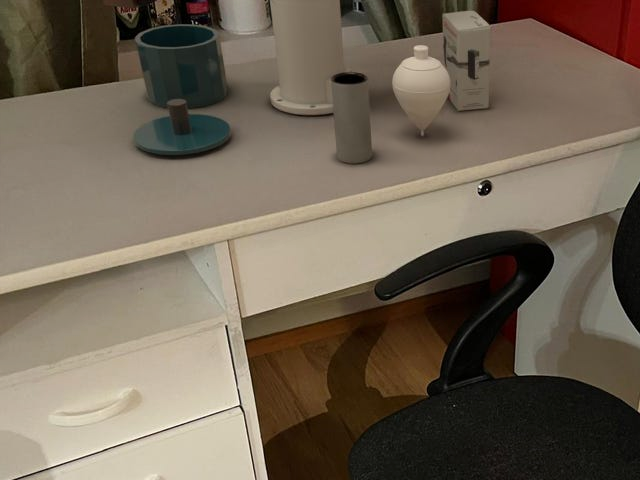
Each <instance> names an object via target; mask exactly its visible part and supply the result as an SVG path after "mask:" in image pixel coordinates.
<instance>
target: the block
mask: <svg viewBox="0 0 640 480" xmlns="http://www.w3.org/2000/svg"><path fill="white" fill-rule="evenodd" d="M102 1H103V6H109V7H116V8H123V9H124V8H125V9H132V10H135V9H138V8H140V7H141V6H140V5H139V4H138V3H137V0H102Z"/></svg>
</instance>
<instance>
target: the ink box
mask: <svg viewBox="0 0 640 480" xmlns="http://www.w3.org/2000/svg"><path fill="white" fill-rule="evenodd" d="M442 58H443V59H442V61H443V63H442V65H443V66H444V67H445V69H446V70H447V72H448V74H449V77H450V82H451V85H450V92H449V94H448V97H447V99H449V101H450V102H451V104H453V106H454V108H455V109H456V111H458V112H462V111H471V110H472V111H473V110H482V109H489V107H490V106H489V105H490V64H491V63H490V61H491V60H490V58H491V27H490V24H489V23H488V22H487V21H486V20H485V19H484V18H483V17H481V15H479V13H477V12H476V11H475V10H463V11H455V12H454V11H453V12H446V13H442Z"/></svg>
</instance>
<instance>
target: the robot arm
mask: <svg viewBox="0 0 640 480" xmlns="http://www.w3.org/2000/svg"><path fill="white" fill-rule="evenodd" d="M157 1H158V0H137V3H138V4H139V5H140V7H145V6H147V5H150V4H153V3H155V2H157ZM269 5H270V14H271V23H272V31H273V39H274V49H275V57H276V65H277V72H278V83H279V84H278V85H277V86H275V87H274V88H273V89H272V90H271V92H270V94H269V98H270V104H271V105H272V106H273V107H274V108H275V109H276V110H279V111H281V112H284V113H288V114H292V115H297V116H299V115H300V116H320V115H331V114H334V113H333V101H332V88H331V78H332V76H334V75H336V74H339V73H344V72H352V69H351V68H347V67H345V58H344V57H345V55H344V41H343V28H342V11H341V0H269Z"/></svg>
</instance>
